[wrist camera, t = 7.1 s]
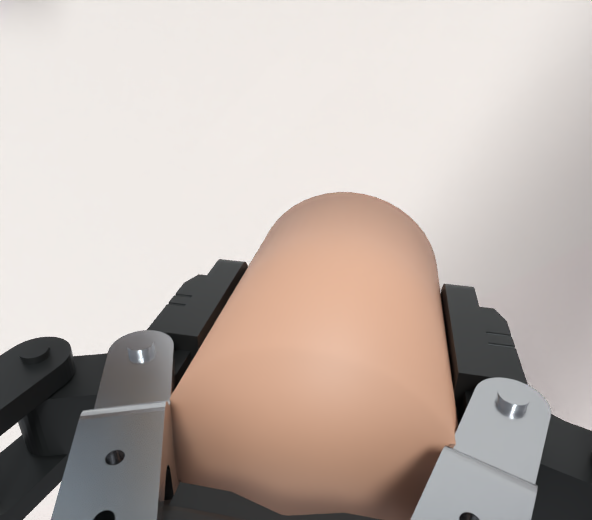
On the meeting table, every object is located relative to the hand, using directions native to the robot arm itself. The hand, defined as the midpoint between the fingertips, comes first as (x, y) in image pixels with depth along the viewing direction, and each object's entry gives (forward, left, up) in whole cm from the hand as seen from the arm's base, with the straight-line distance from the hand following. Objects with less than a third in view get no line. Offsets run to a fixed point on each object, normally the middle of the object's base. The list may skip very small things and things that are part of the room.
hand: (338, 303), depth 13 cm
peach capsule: (0, 0, -2) cm, 2 cm away
